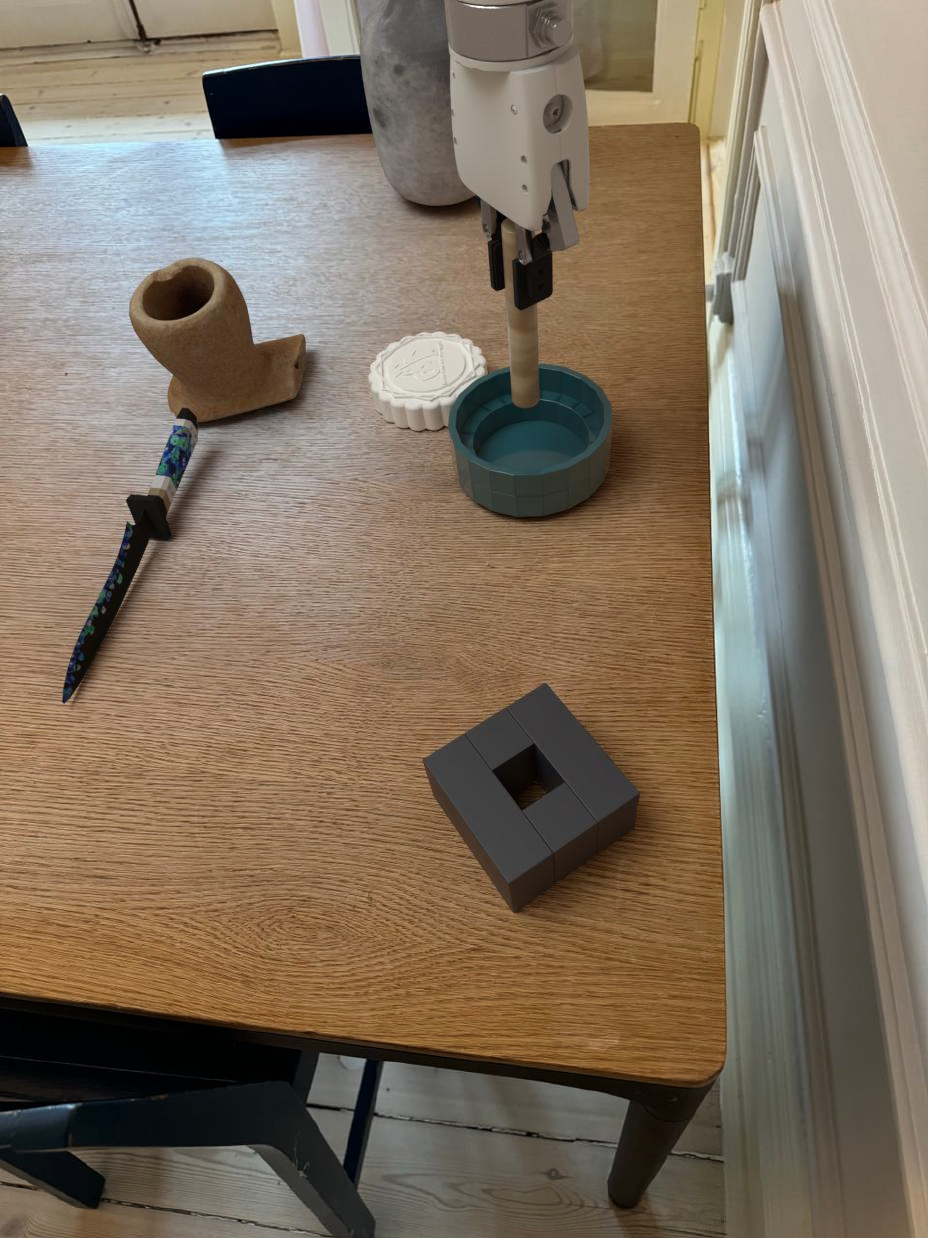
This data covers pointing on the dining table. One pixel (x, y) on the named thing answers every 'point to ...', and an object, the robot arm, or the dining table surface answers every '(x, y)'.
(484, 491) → the bowl
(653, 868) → the dining table surface
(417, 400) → the mooncake
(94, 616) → the knife
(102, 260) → the dining table surface
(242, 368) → the brown hollow clay piece
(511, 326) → the stick
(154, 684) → the dining table surface
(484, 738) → the holder
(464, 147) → the robot arm
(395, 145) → the vase
